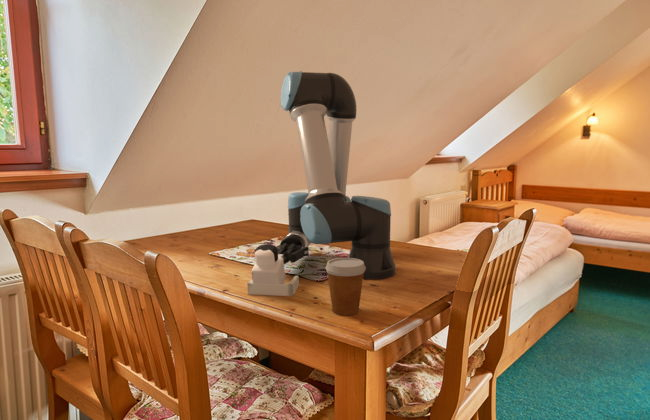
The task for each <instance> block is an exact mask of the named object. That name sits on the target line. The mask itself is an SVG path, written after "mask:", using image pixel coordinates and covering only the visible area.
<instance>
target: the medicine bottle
mask: <svg viewBox="0 0 650 420" xmlns="http://www.w3.org/2000/svg"><path fill="white" fill-rule="evenodd" d="M253 255H254V259H255V260H254V261H255V263H254V265H253V267H252V269H251V272H250V273H251V279H253V283H255V284H285V281H286V271H285V264H284V260H283V258H282V257H278V251H277V246H275V245H273V244H272V243H271V244H270V243H266V244H265V243H264V244H261V245H258V246H257V247H256V248H255V249H254V252H253Z"/></svg>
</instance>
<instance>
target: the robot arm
mask: <svg viewBox="0 0 650 420" xmlns="http://www.w3.org/2000/svg"><path fill="white" fill-rule="evenodd" d="M280 92H281V93H280V105H281V108H282V110H283V111H286V112H289V117H290V119H291V120H292V121H294V122H296V123H295V124H296V128H297V134H298V140H299V147H300V152H301V157H302V162H303V169H304V174H305V181H306V186H307V192H306V191H305V192H291V193H290V194H289V195H288V202H287V210H288V211H287V212H288V214H287V215H288V233H287V235H286V236H285V237H284V238H283V239H282V240H281V241H280V243H279V245H277V246H276V247H277V251H278V257H282V258H283V260H284V265H286V264H288V263H289V262H290V263H291V264H293V263H296V262H297V261H299V260H301V259H302V258H304V257H308V256H310V255H309V254H310V252H309V250H310V248H309V246H310V245H311V244H314V245H329V244H333V243H342V242H343V243H344V242H351V248H350V251H349V254H348V257H347V258H355V259H359V260H362V261H363V262H364V266H365V267H366V269H365V272H364V274H363V280H382V279H389V278H391V277H393V276H395V275H396V270H397V268H396V267H397V266H396V263H395V258H394V256H393V253H392V251H391V250H392V249H391V220H392V219H391V217H392V211H391V202H390V201H389V200H387V199H384V198H379V197H372V196H366V195H352V196H351V198H350V197H349V196H348V195H346V192H347V183H348V172H349V171H348V170H349V161H350V152H351V151H350V150H351V139H352V132H353V131H352V130H353V122H354V121H355V120H356V119H357V101H356V98H355V94H354V91H353V89H352V87H351V86H350V84H349V82H348V81H347V80H346V79H345V78H344V77H342V76H341V75H339V74H338V73H334V72H310V71H308V72H307V71H301V70H300V71H290V72H288V73H286V75H285V76H284V79H283V81H282V86H281V91H280ZM325 116H326V118H327V120H329V121H328V122H329V123H328V133H327V127H326V121H325Z"/></svg>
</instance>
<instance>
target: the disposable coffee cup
mask: <svg viewBox="0 0 650 420" xmlns="http://www.w3.org/2000/svg"><path fill="white" fill-rule="evenodd" d="M324 268H325V270H326V273H327V279H328V280H327V281H328V286H329V287H328V288H329V294H330V302H331V311H332V313H333V314H335V315H339V316H353V315H356V314H358V313H359V312H360V311H359V309H360V303H361V295H362V289H363V287H362V286H363V282H364V281H363V280H364V279H363V274H364V272H365V269H366V267H365V266H364V262H363V261H362V260H359V259H355V258H348V257H338V258H337V257H336V258H332V259H329V260H328V261H327V263H326V266H325V267H324Z"/></svg>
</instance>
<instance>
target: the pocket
mask: <svg viewBox="0 0 650 420" xmlns="http://www.w3.org/2000/svg"><path fill="white" fill-rule="evenodd" d="M299 281H300V277H299V275H294V276H293V278H292V279H291V281H290V282H289V283H284V284H255V283H253V279H252V278H251V279H250V280H249V281H248V282H247V286H246V287H247V295H252V296H253V295H254V296H255V295H256V296H257V295H258V296H276V297H277V296H279V297H293V296H294V294H295V292H296V291H297V289H298V287H299V286H300V285H299V284H300V283H299Z"/></svg>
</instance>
